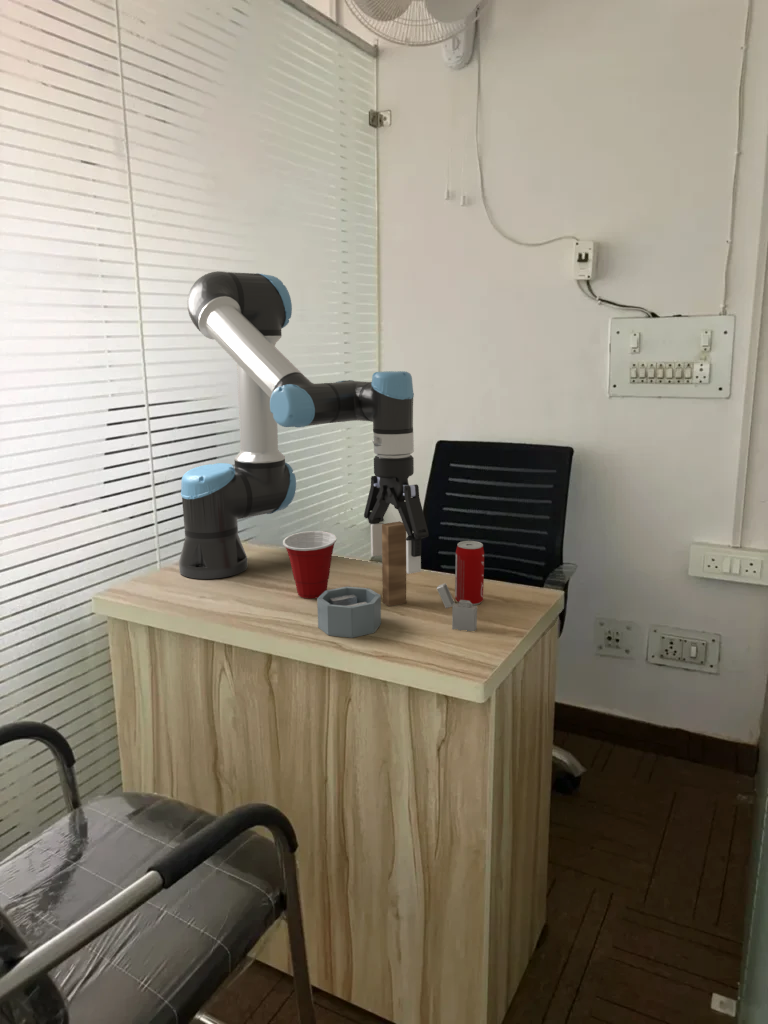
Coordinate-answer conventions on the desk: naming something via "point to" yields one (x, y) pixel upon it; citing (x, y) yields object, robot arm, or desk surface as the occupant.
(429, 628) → the desk surface
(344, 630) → the grey faceted bowl
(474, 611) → the lighter
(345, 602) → the clip
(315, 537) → the plastic cup
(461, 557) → the soda can
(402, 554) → the brown wooden block
